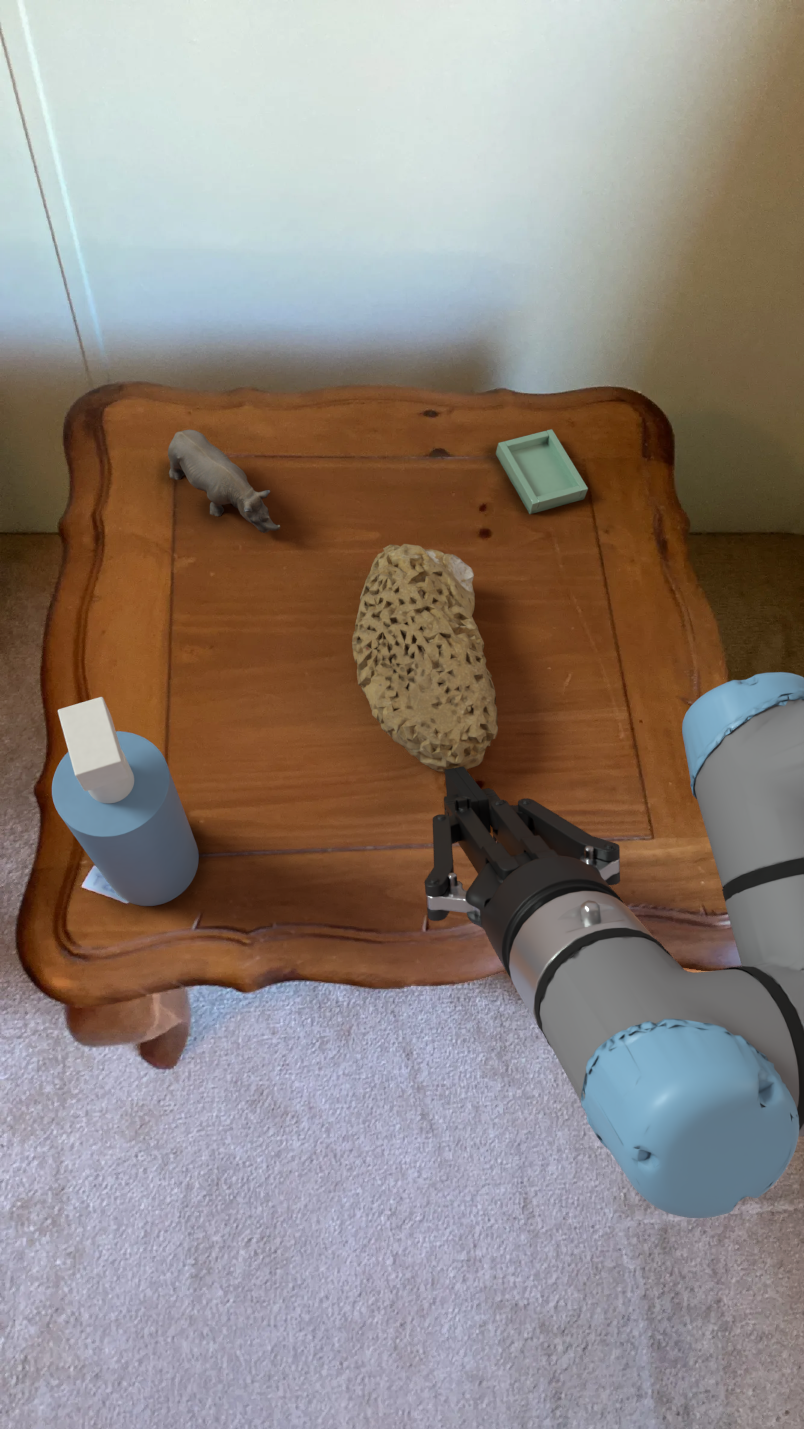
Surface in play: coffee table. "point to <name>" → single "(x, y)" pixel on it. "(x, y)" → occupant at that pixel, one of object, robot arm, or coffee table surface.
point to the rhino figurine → (217, 478)
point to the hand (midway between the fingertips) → (455, 784)
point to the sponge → (425, 657)
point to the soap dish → (541, 471)
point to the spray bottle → (123, 807)
